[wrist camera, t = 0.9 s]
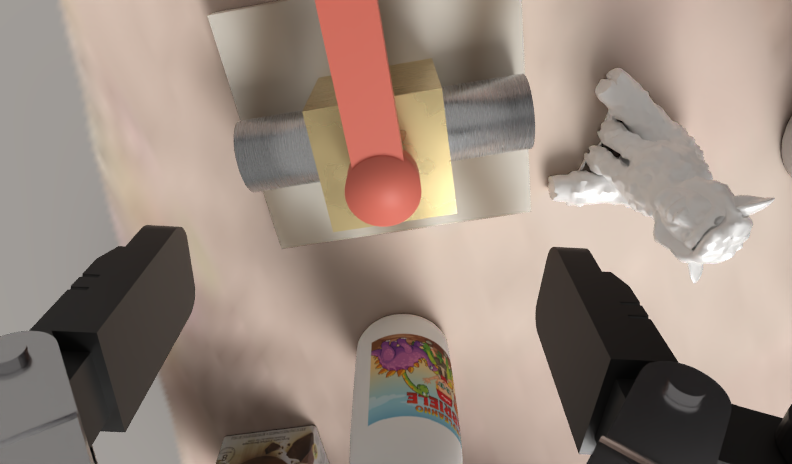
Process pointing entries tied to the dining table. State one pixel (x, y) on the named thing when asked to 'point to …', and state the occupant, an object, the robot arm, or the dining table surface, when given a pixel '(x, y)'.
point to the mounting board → (405, 42)
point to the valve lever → (368, 114)
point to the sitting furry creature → (659, 179)
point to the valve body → (419, 127)
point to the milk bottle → (404, 395)
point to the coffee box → (274, 447)
